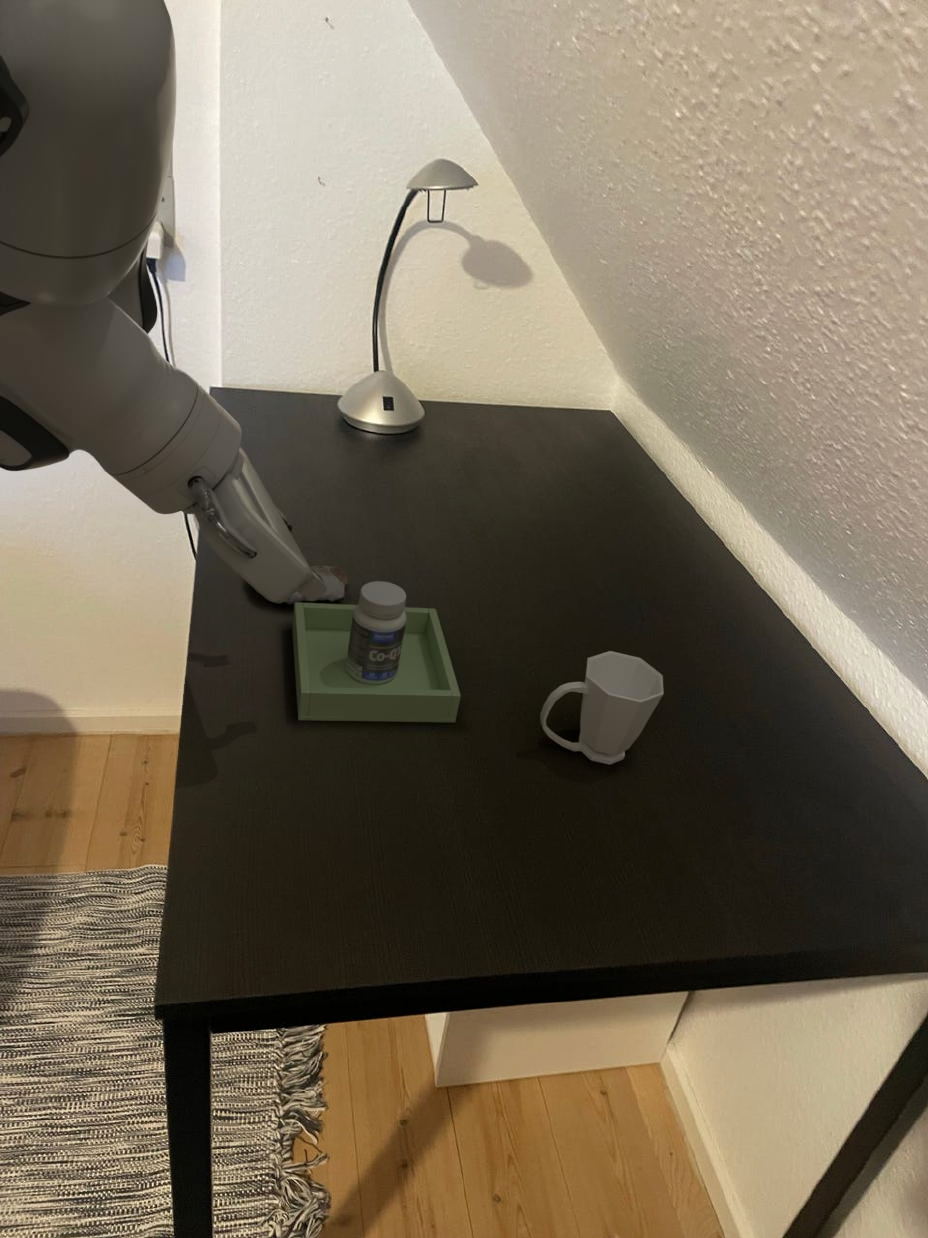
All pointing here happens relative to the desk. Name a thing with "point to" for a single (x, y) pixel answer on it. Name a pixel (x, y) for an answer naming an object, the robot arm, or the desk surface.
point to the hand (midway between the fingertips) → (300, 559)
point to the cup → (610, 705)
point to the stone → (333, 582)
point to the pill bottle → (377, 633)
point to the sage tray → (337, 696)
